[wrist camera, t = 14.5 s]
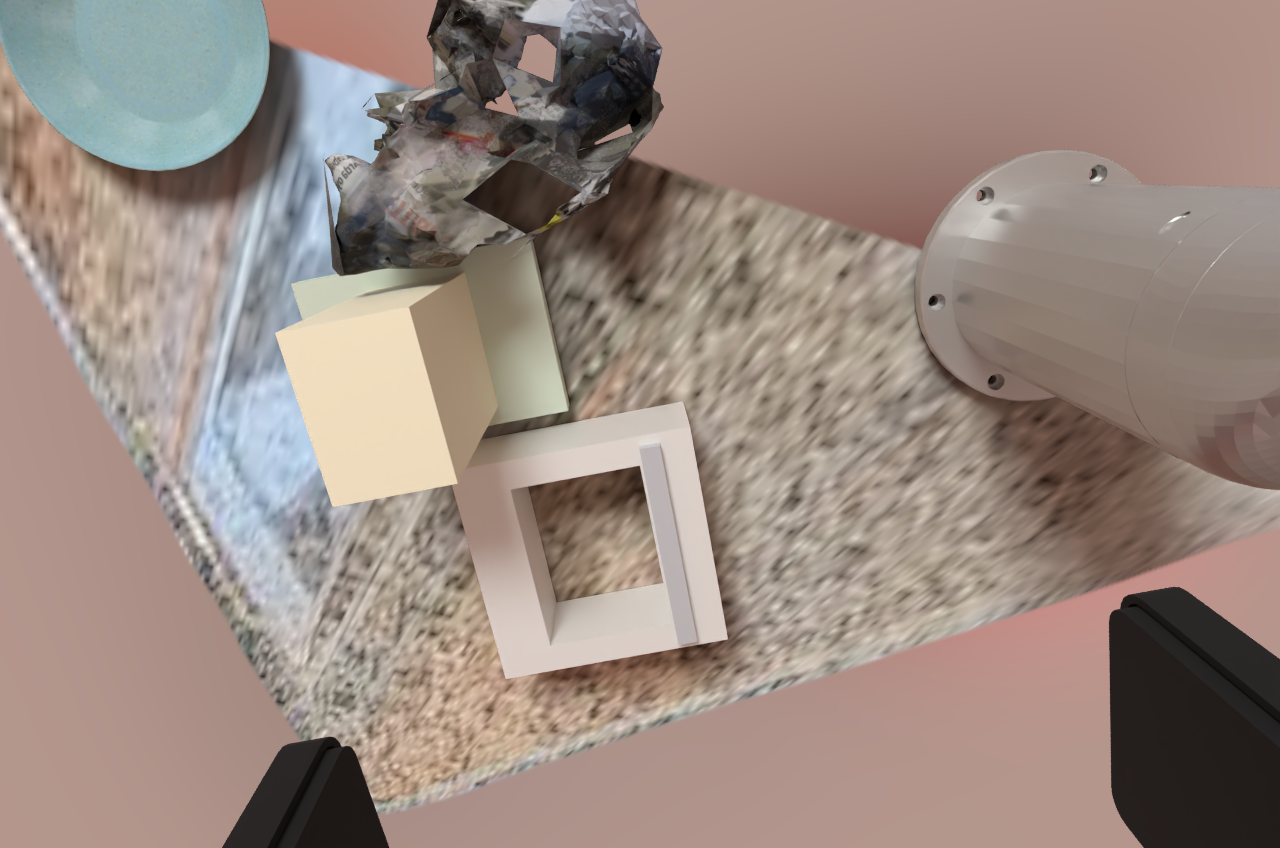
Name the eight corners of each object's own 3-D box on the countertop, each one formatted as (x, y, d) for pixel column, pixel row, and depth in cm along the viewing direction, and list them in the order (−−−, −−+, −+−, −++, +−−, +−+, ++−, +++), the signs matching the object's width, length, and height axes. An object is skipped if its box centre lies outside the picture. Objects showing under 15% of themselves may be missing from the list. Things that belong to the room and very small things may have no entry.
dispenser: (682, 401, 43) (691, 429, 38) (717, 596, 47) (729, 644, 42) (465, 442, 43) (445, 475, 39) (516, 632, 47) (504, 684, 42)
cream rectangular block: (464, 272, 40) (408, 306, 29) (498, 405, 42) (457, 483, 31) (366, 291, 40) (275, 332, 29) (404, 423, 42) (332, 507, 31)
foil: (702, 242, 37) (387, 298, 30) (584, 230, 46) (316, 272, 38) (687, -41, 34) (320, -60, 26) (561, 3, 42) (256, -1, 34)
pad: (531, 235, 40) (529, 237, 39) (569, 404, 43) (568, 410, 42) (300, 280, 41) (291, 283, 39) (352, 445, 43) (344, 453, 42)
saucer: (-25, -38, 36) (-66, -52, 34) (200, -155, 35) (173, -177, 33) (124, 209, 40) (95, 211, 38) (335, 110, 39) (317, 106, 36)
